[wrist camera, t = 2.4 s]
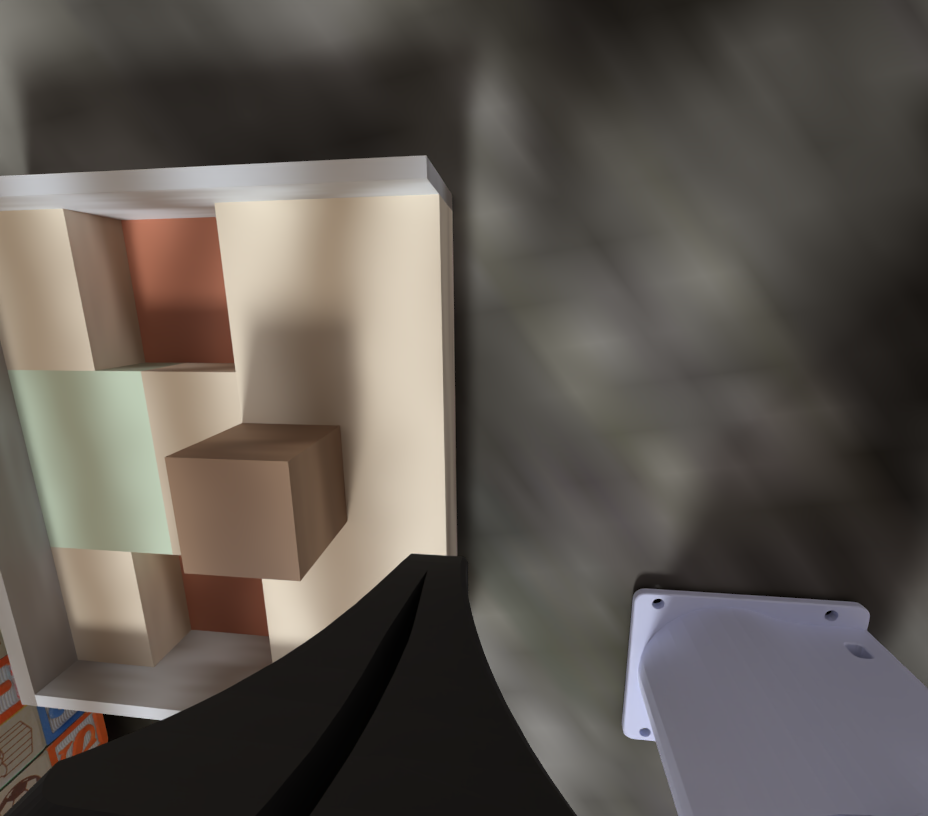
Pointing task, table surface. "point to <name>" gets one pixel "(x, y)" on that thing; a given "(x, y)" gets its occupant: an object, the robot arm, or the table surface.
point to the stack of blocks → (37, 737)
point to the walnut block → (258, 499)
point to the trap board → (210, 406)
